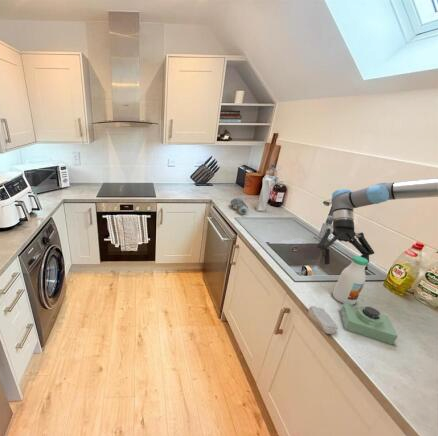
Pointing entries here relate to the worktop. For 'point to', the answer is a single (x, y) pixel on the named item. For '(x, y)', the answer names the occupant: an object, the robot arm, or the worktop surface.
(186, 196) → the worktop surface
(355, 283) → the milk bottle
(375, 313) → the black disc
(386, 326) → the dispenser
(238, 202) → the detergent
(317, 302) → the worktop surface
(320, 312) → the soap bar
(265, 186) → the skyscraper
